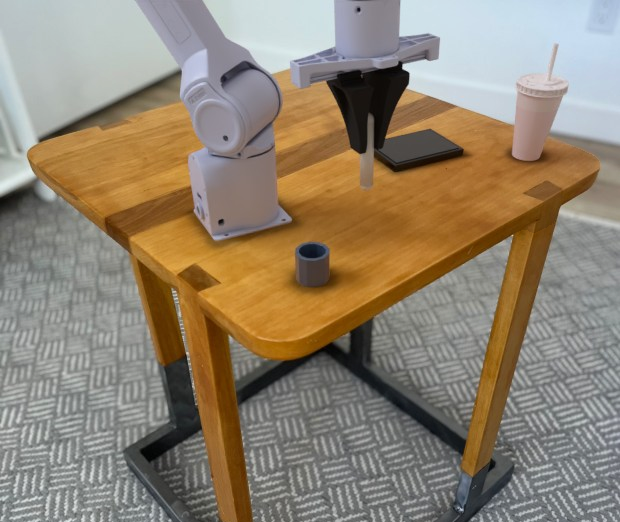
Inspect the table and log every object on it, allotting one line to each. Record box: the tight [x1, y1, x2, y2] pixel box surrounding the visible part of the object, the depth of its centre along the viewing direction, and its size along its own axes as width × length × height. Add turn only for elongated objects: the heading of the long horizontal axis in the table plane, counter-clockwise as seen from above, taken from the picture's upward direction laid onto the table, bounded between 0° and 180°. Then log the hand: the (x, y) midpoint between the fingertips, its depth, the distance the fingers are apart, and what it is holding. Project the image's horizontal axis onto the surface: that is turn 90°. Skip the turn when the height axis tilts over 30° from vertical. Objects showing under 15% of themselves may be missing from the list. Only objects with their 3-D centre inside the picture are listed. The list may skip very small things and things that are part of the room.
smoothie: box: [511, 42, 570, 162], centre depth 79 cm, size 6×6×14 cm
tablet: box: [374, 128, 465, 173], centre depth 85 cm, size 11×8×1 cm
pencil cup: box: [294, 241, 331, 288], centre depth 62 cm, size 3×3×4 cm
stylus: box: [359, 113, 375, 192], centre depth 62 cm, size 1×1×8 cm
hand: (366, 148), depth 62 cm, fingers closed on stylus, 1 cm apart
